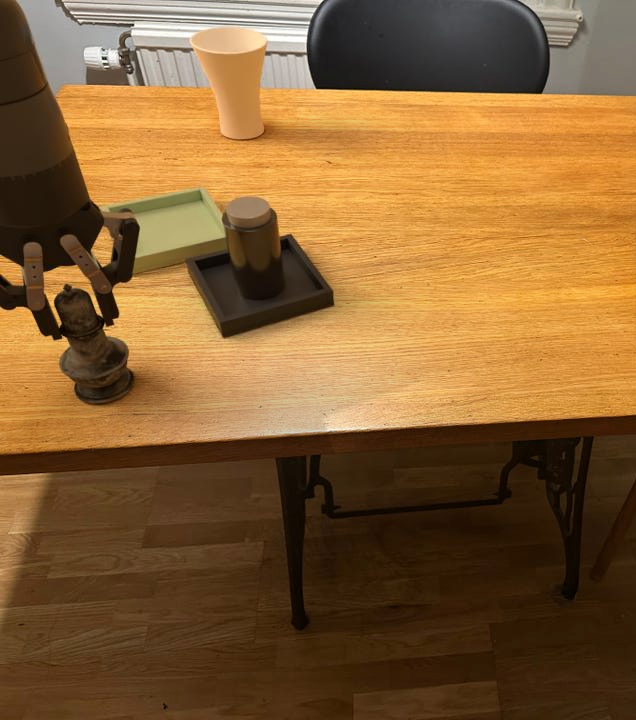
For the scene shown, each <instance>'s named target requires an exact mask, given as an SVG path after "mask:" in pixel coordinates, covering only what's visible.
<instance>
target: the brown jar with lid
mask: <svg viewBox="0 0 636 720" xmlns="http://www.w3.org/2000/svg"><path fill="white" fill-rule="evenodd" d="M222 214H223V216H222V224H223V229H224V235H225V240H226V245H227V251H228V256H229V261H230V267H231V272H232V277H233V283H234V288H235V291H236V292H237V293H238V294H239V295H240V296H242V297H244V298H246V299H251V300H264V299H269V298H272V297H274V296H276V295H278V294H279V293H281V292H282V290H283V289H284V287H285V276H284V268H283V260H282V252H281V244H280V236H281V235H280V228H279V221H278V214H277V212H276V210H274V208H272V207H271V205H270V203H269V202H268V200H266V199H264V198H262V197H259V196H254V195H250V196H249V195H247V196H240V197H236V198H233V199H232V200H230V201H228V203H227V204H226V206H225V211H224V212H223V213H222Z"/></svg>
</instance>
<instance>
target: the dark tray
mask: <svg viewBox="0 0 636 720" xmlns="http://www.w3.org/2000/svg"><path fill="white" fill-rule="evenodd" d="M279 236H280V244H281V252H282V260H283V268H284V276H285V287H284V289H283V290H282V292H281V293H279V294H278V295H276V296H274V297H272V298H269V299H264V300H251V299H246V298H244V297H242V296H240V295H239V294H238V293H237V292H236V291H235V288H234V283H233V277H232V272H231V267H230V261H229V256H228V251H227V249H225V250H221V251H217V252H212V253H208V254H204V255H200V256H196V257H193V258H192V257H191V258H187V259H185V260H186V262H185V263H186V268H187V272H188V275H189V277H190V279H191V280H192V283H193V284H194V287H195V288H196V290H197V292H198V294H199V295H200V297H201V300H202V301H203V304H204V305H205V306H206V309H207V310H208V312H209V315H210V316H211V318H212V320H213V322H214V324H215V325H216V328H217V329H218V331H219V333H220V335H221V336H222V338H227V337H231V336H234V335H237V334H241V333H245V332H247V331H251V330H255V329H258V328H261V327H264V326H268V325H273V324H275V323H278V322H281V321H285V320H288V319H291V318H296V317H299V316H302V315H305V314H309V313H312V312H316V311H319V310H323V309H326V308H329V307H332V306H335V298H334V290H333V288H332V287H331V286H330V284H329V282H327V280H326V279H325V278H324V276H323V275H322V273H321V272H320V271H319V269H318V268H317V267H316V265H315V264H314V262H313V261H312V260H311V259H310V257H309V256H308V254H307V253H306V252H305V250H304V249H303V248H302V246H301V245H300V244H299V243H298V241H297V239H296V238H295V237H294V236H293V234H292V233H289V234H288V233H287V234H285V235H279Z"/></svg>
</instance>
